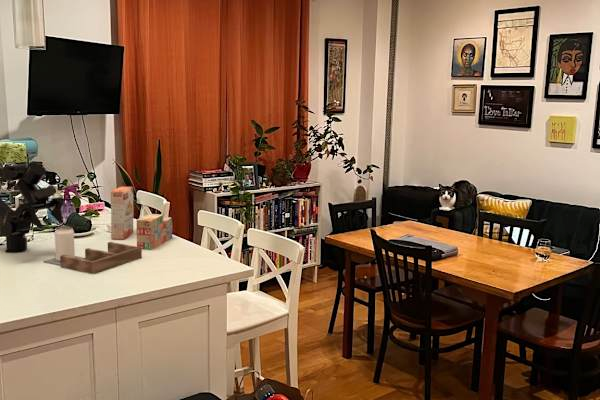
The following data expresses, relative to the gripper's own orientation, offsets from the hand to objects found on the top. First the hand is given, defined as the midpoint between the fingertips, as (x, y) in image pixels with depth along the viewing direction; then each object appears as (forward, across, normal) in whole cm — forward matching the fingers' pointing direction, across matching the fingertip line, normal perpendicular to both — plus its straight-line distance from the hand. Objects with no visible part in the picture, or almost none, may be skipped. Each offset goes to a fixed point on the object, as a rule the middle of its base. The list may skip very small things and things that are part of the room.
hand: (52, 225), depth 215 cm
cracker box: (+7, +40, +11) cm, 42 cm away
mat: (+13, 0, +5) cm, 14 cm away
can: (+13, 0, +4) cm, 14 cm away
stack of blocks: (+21, +38, -2) cm, 43 cm away
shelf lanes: (+22, +6, -4) cm, 23 cm away
